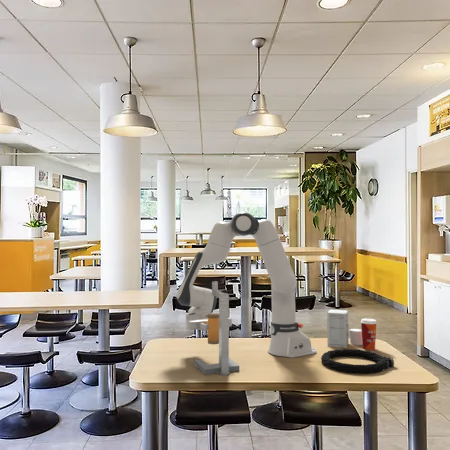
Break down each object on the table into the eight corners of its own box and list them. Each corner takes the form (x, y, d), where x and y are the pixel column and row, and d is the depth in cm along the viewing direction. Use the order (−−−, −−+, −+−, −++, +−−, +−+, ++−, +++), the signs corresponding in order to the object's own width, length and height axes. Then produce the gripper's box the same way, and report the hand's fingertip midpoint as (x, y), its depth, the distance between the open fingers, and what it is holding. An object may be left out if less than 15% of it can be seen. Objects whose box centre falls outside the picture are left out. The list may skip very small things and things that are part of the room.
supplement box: (348, 343, 229) (349, 310, 229) (346, 348, 220) (346, 313, 220) (329, 341, 232) (329, 309, 232) (326, 346, 224) (326, 312, 224)
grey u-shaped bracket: (227, 361, 199) (227, 356, 199) (239, 370, 185) (239, 365, 185) (194, 364, 193) (194, 359, 193) (204, 374, 180) (204, 369, 180)
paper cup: (371, 351, 214) (371, 322, 214) (357, 348, 220) (357, 319, 220) (380, 348, 219) (380, 319, 219) (366, 345, 225) (366, 317, 225)
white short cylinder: (346, 342, 231) (346, 329, 231) (357, 341, 233) (357, 327, 233) (355, 346, 224) (355, 331, 224) (366, 344, 227) (366, 330, 227)
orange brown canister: (217, 340, 195) (217, 313, 195) (221, 343, 191) (221, 315, 191) (206, 341, 194) (206, 313, 194) (209, 344, 189) (209, 315, 189)
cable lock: (320, 346, 211) (388, 349, 205) (320, 354, 211) (388, 358, 205) (320, 363, 184) (398, 368, 178) (320, 373, 184) (399, 378, 178)
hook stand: (217, 365, 193) (217, 281, 193) (228, 374, 180) (228, 285, 180) (210, 365, 192) (210, 281, 192) (221, 375, 179) (221, 285, 179)
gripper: (226, 325, 208) (237, 332, 195) (182, 329, 201) (191, 336, 188) (226, 311, 208) (237, 317, 195) (182, 314, 201) (191, 320, 188)
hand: (214, 326), depth 191 cm, fingers closed on orange brown canister, 5 cm apart
